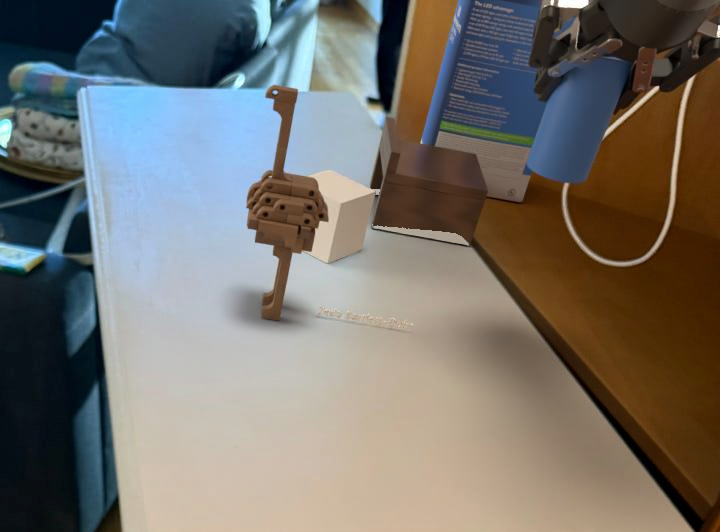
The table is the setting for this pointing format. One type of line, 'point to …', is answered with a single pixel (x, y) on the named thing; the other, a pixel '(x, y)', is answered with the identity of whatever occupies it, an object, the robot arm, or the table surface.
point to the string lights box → (490, 92)
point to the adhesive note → (341, 216)
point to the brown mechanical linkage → (288, 211)
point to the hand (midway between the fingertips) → (576, 96)
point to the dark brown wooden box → (426, 186)
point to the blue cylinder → (577, 120)
